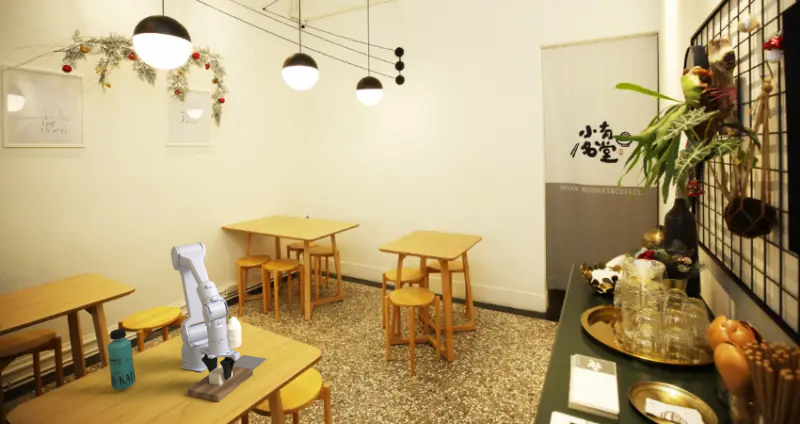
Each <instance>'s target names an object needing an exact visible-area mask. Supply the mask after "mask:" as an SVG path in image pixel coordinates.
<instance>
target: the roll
mask: <svg viewBox="0 0 800 424" xmlns="http://www.w3.org/2000/svg"><path fill="white" fill-rule="evenodd" d="M226 328H227V339H228V347H229V348H230V349H232V350H234V349H236V348H239V347H241V346H242V345H243V339H242V326H241V323H240V321H239V320H238V318H237V317H235V316H231V318H230V319H229V322H228V324H227V325H226Z"/></svg>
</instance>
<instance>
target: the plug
mask: <svg viewBox="0 0 800 424" xmlns="http://www.w3.org/2000/svg"><path fill="white" fill-rule="evenodd" d="M208 375H209V382H210V384H213V385H218V386H220V385H222V384H223V383H224V382H226V381H227V380H225V378H224V371H223V368H222V366H221V364H220V365H219V366H218V365H217V368H215V369H214V370H212V371H211V372H209V371H208ZM232 376H233V372H232V374H231V377H232ZM231 377H230V378H231ZM230 378H229V379H230Z"/></svg>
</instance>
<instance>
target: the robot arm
mask: <svg viewBox="0 0 800 424" xmlns="http://www.w3.org/2000/svg"><path fill="white" fill-rule="evenodd" d="M206 257H207V249H206V245H205V244H204V243H203V242H202V241H199V242H194V243H189V244H183V245H178V246H177V245H173V246H172V248H171V250H170V258H171V262H172V263H171V264H172V267H173V270H174V271H178V272H179V275H180V278H181V284H182V290H183V296H184V302H185V306H186V307H185V308H186V312H187V317H185V319H184V320H183V321H182V322H181V323H180V336H181V337H180V338H181V340H182V343H183V344H182V347H181V349H180V350H181V352H180V353H181V360H182V365H181V366H180V368H181V369H182V370H183V369H185V370H189V371H195V372H200V373H203V372H204V371H206V370H208V373H209V372H211V371H212V370H214V369H215V368H217V367H218V361H219V359H218V358H223V359H222V360H221V361H220V362H219V364H220V365H221V366H222V368H223V371H224V378H225V380H228V379H229V378H230V377H231V374H232V369H233V366H234V363H235V361H236V360H237V359H239V358H240V357H241V356H240V355H241V354H240V352H239V351H236V350H234V349H230V348H229V347H228V339H227V328H226V318H225V316H226V317H227V316H228V315H229V307H228V303H227V301H226V300H225V299H224V298H223V296H221V295H220V293H219V291H218V289H217V286H216V283H215V282H214V281H211V280H210V279H209V275H208V272H207V269H206V266H205V261H206Z"/></svg>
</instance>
